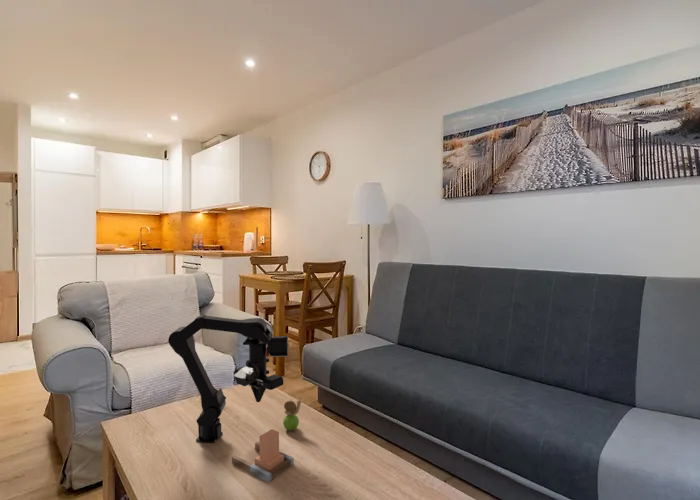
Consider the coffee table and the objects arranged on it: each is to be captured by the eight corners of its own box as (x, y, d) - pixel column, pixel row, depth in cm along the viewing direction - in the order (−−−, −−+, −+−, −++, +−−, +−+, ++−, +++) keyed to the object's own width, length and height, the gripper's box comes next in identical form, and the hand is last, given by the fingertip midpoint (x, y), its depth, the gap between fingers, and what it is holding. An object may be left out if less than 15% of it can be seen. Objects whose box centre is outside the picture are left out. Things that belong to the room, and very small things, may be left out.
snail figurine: (298, 434, 139) (298, 400, 138) (280, 432, 140) (280, 398, 139) (303, 426, 144) (303, 394, 143) (286, 424, 145) (286, 392, 144)
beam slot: (231, 463, 122) (231, 456, 122) (257, 447, 130) (257, 441, 130) (268, 482, 113) (268, 475, 113) (293, 464, 122) (293, 457, 121)
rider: (255, 468, 119) (254, 435, 119) (269, 458, 124) (269, 426, 124) (269, 475, 116) (268, 441, 115) (284, 465, 121) (283, 432, 120)
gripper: (220, 357, 135) (221, 403, 136) (258, 369, 124) (259, 418, 125) (246, 349, 144) (246, 391, 145) (284, 359, 133) (284, 405, 134)
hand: (258, 401), depth 137 cm, fingers closed
